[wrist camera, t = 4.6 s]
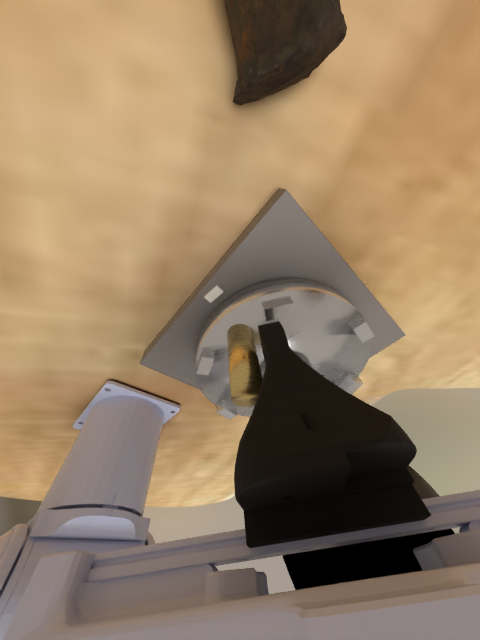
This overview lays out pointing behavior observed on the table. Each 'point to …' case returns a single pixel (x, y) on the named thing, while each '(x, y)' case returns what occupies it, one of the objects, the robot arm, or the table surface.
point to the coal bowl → (363, 555)
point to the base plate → (260, 266)
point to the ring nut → (302, 334)
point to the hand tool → (281, 42)
